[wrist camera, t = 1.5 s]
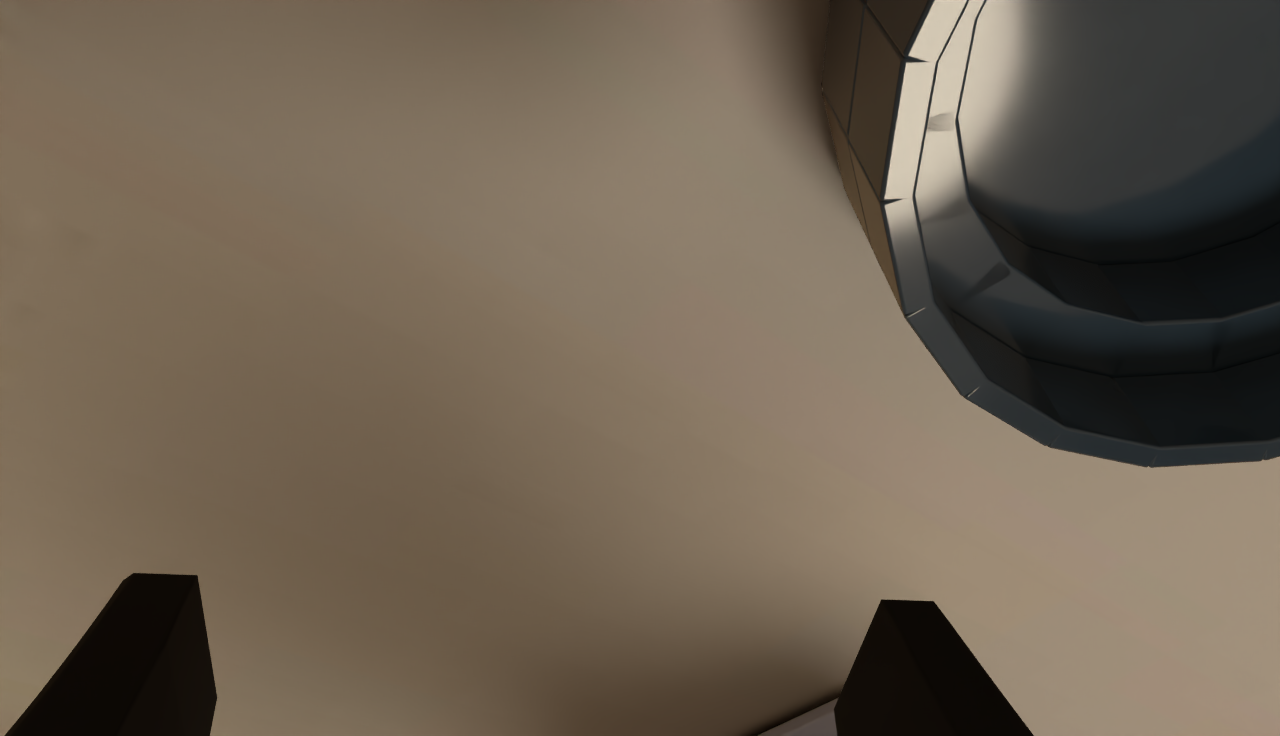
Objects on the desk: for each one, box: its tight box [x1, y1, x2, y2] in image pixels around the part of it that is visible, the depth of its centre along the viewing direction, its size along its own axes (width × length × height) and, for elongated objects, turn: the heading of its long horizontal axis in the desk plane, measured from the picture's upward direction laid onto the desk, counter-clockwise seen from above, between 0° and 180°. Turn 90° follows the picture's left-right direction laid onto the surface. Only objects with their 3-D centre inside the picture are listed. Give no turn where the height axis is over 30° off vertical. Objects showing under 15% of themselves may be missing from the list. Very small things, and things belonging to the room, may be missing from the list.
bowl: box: [821, 0, 1280, 468], centre depth 16 cm, size 13×13×4 cm
